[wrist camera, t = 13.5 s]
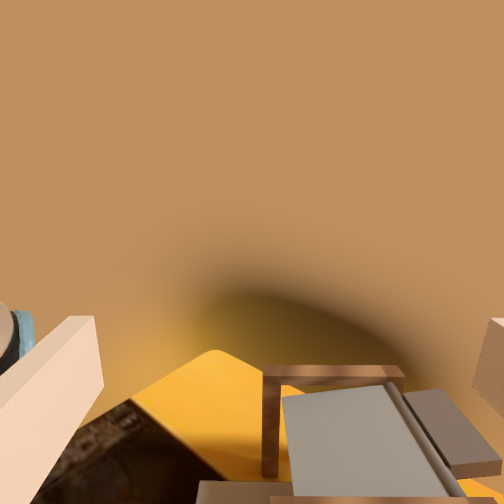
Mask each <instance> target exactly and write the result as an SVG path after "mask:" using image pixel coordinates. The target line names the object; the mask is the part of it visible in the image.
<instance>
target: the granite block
mask: <svg viewBox="0 0 504 504" xmlns="http://www.w3.org/2000/svg"><path fill="white" fill-rule="evenodd" d="M270 496H294V492H293V484H292V482H247V481H200V484H199V489H198V495H197V500H196V504H269V497H270Z"/></svg>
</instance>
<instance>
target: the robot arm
mask: <svg viewBox="0 0 504 504" xmlns="http://www.w3.org/2000/svg"><path fill="white" fill-rule="evenodd" d="M103 387H104V383H103V376H102V369H101V362H100V356H99V349H98V342H97V336H96V329H95V322H94V316H69V317H68V318H67V319H66V320H64V321H63V322H62V323H61V324H60V325H59V326H58V327H56V328H55V329H54V330H53V331H52V332H51V333H49V334H48V335H47V336H46V337H45V338H44V339H43V340H41V341H40V342H39V343H38V344H37V345H36V341H35V330H34V322H33V316H32V314H31V313H30V312H28V311H17V310H15V311H9V310H8V308H7V307H6V305H4V303H3V302H1V301H0V504H30V502H31V501H32V499H33V497H34V496H35V494H36V493H37V491H38V490H39V488H40V486H41V485H42V483H43V482H44V480H45V479H46V477H47V475H48V474H49V472H50V471H51V469H52V468H53V466H54V464H55V463H56V461H57V460H58V458H59V457H60V455H61V453H62V452H63V450H64V449H65V447H66V445H67V444H68V442H69V441H70V439H71V438H72V436H73V434H74V433H75V431H76V430H77V428H78V427H79V425H80V423H81V422H82V420H83V419H84V417H85V416H86V414H87V412H88V411H89V409H90V408H91V406H92V405H93V403H94V401H95V400H96V398H97V397H98V395H99V394H100V392H101V390H102V389H103ZM472 387H473V388H474V389H475V390H476V391H477V392H478V393H479V394H480V395H481V396H482V397H483V398H484V399H485V400H486V401H487V402H488V403H489V404H490V405H491V406H492V407H493V408H494V409H495V410H496V411H497V412H498V413H499V414H500V415H501V416H502V417H503V418H504V318H490V319H489V323H488V327H487V331H486V334H485V338H484V342H483V346H482V349H481V353H480V357H479V361H478V364H477V368H476V372H475V376H474V379H473V383H472Z"/></svg>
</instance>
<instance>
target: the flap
mask: <svg viewBox="0 0 504 504" xmlns="http://www.w3.org/2000/svg"><path fill="white" fill-rule="evenodd" d="M282 404H283V412H284V420H285V428H286V436H287V444H288V452H289V460H290V468H291V476H292V484H293V492H294V496H357V497H467V496H466V494H465V493H464V491H463V490H462V488H461V487H460V485H459V484H458V482H457V480H459V479H468V478H477V477H487V476H497V475H501V466H502V459H501V458H500V457H499V455H498V454H497V453H496V452H495V451H494V449H493V448H492V447H491V446H490V445H489V444H488V443H487V441H486V440H485V439H484V438H483V437H482V436H481V435H480V433H479V432H478V431H477V430H476V428H475V427H474V426H473V425H472V424H471V423H470V421H469V420H468V419H467V418H466V417H465V416H464V415H463V413H462V412H461V411H460V410H459V409H458V407H457V406H456V405H455V404H454V403H453V401H451V399H450V398H449V397H448V396H447V394H446V393H445V392H444V391H443V390H442V389H435V390H426V391H419V392H410V393H403V398H402V396H401V394H400V393H399V391H398V390H397V388H396V387H395V385H394V384H393V383H392V382H386V383H384V384H383V385H377V386H369V387H361V388H352V389H344V390H336V391H327V392H320V393H310V394H302V395H294V396H285V397H282Z"/></svg>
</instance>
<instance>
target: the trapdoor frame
mask: <svg viewBox="0 0 504 504" xmlns="http://www.w3.org/2000/svg"><path fill="white" fill-rule="evenodd" d="M404 380H405V376H404V375H403V373H402V372H401V370H400V369H399V368H398V366H388V365H387V366H386V365H384V366H382V365H369V366H368V365H263V394H262V462H261V463H262V477H278V455H279V426H280V396H281V385H371V386H377V385H383V384H384V383H386V382H392V383H393V384H394V385H395V387H396V388H397V390H398V391H399V393H400V394H401V396H402V393H403V387H404ZM269 504H498V503H497V502H496V501H495V499H494V498H493V497H357V496H270V497H269Z"/></svg>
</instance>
